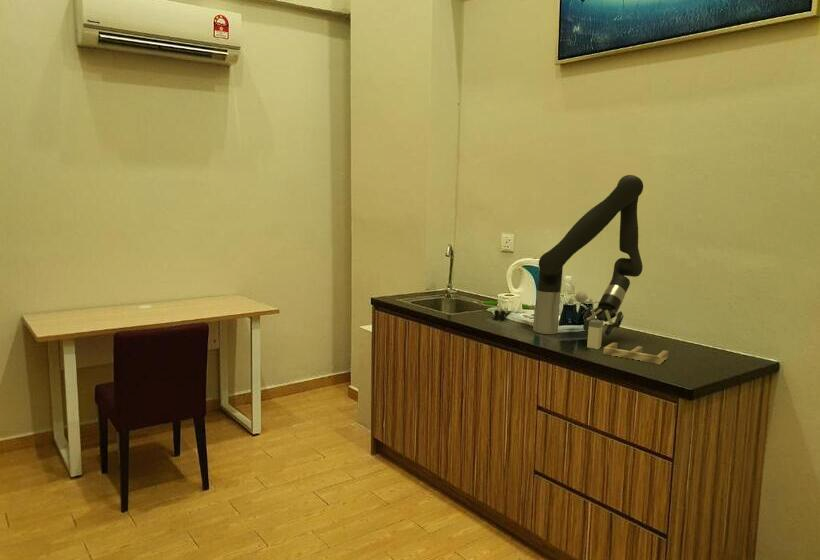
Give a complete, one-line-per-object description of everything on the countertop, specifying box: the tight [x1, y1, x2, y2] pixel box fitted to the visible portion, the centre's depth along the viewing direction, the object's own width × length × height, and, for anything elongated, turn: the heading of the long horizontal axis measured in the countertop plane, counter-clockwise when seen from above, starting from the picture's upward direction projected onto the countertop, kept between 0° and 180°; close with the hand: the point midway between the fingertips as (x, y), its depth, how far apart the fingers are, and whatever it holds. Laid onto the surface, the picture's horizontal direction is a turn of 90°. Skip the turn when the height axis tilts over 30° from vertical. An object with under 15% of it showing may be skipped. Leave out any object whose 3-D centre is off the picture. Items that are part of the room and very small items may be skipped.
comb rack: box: [602, 341, 669, 365], centre depth 230 cm, size 20×12×2 cm, turn 56°
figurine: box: [476, 300, 537, 321], centre depth 298 cm, size 28×6×30 cm
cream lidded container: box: [586, 319, 604, 350], centre depth 240 cm, size 4×4×10 cm
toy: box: [567, 290, 594, 305], centre depth 281 cm, size 11×7×15 cm, turn 84°
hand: (595, 332), depth 240 cm, fingers open, 8 cm apart
